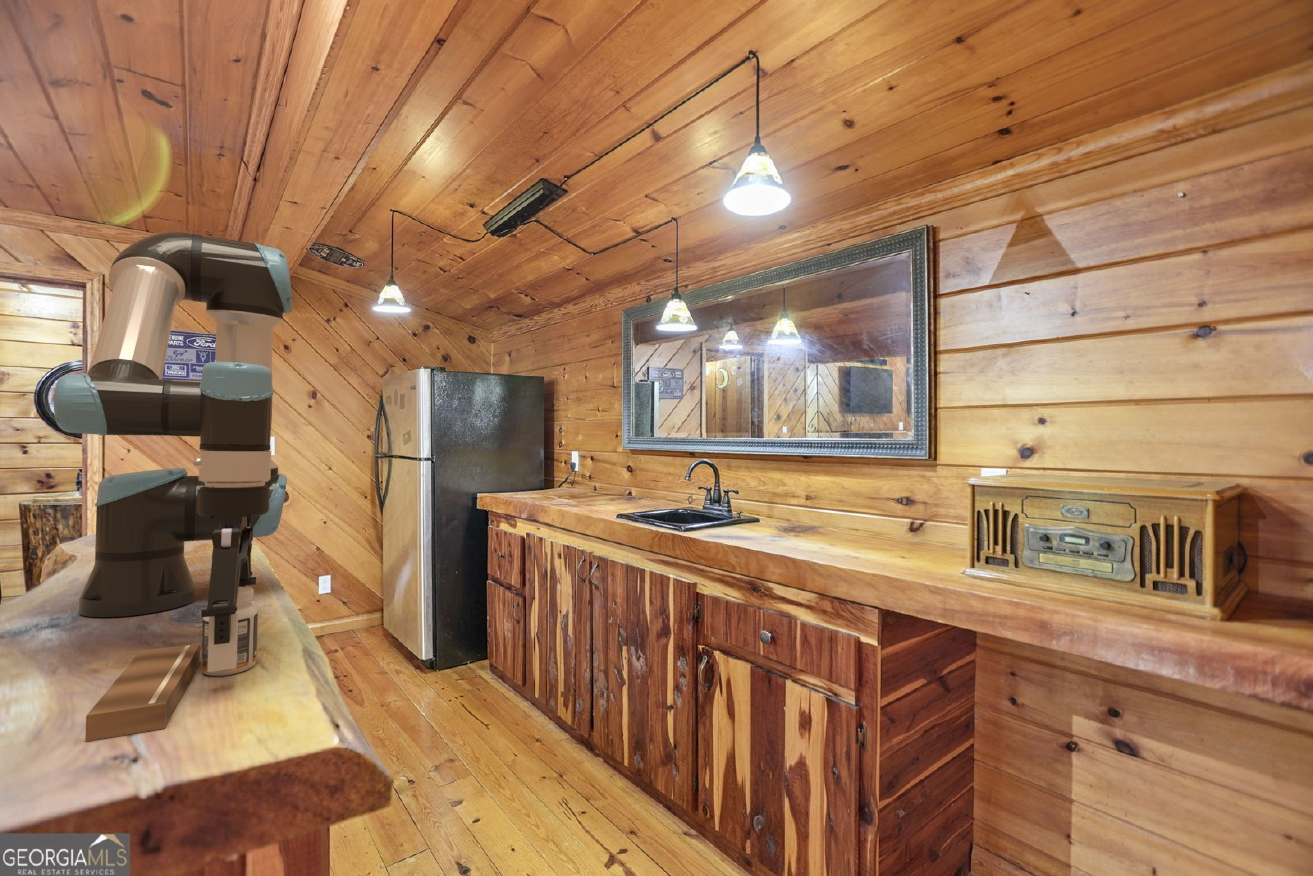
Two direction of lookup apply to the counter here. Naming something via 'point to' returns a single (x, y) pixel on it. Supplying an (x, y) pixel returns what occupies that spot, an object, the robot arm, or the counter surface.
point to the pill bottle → (244, 636)
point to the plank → (144, 693)
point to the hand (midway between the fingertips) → (230, 651)
